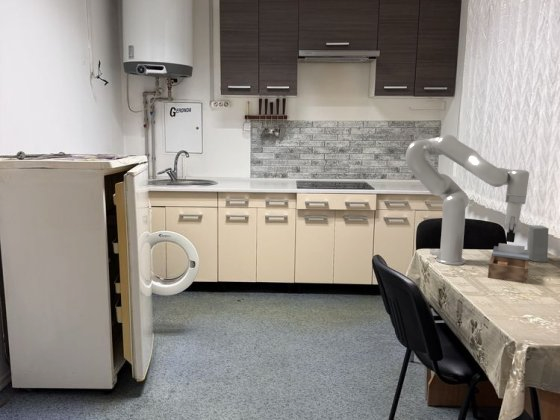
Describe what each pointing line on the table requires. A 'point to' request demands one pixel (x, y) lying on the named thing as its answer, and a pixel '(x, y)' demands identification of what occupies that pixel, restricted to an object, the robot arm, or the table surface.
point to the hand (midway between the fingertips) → (509, 241)
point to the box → (508, 269)
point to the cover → (511, 251)
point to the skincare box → (537, 242)
